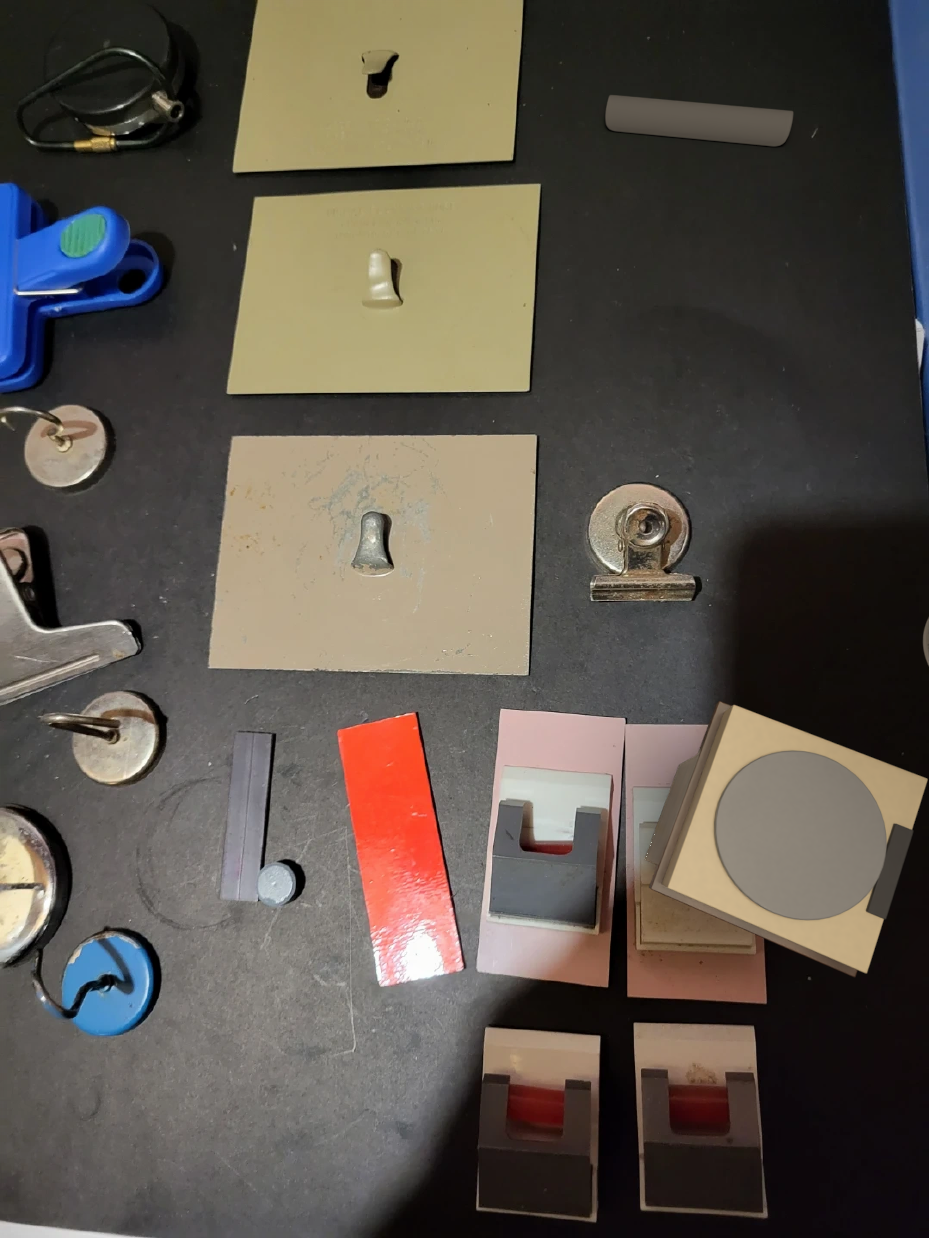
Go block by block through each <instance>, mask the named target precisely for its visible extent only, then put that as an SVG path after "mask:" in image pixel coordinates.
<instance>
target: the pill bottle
mask: <svg viewBox="0 0 929 1238" xmlns="http://www.w3.org/2000/svg"><path fill="white" fill-rule="evenodd" d="M922 647H923V653H924V658H925V660H926V663H927V665H928V666H929V617H928V618H927V619H926V623H925V626H924V628H923V635H922Z"/></svg>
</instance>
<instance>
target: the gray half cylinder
mask: <svg viewBox="0 0 929 1238" xmlns="http://www.w3.org/2000/svg"><path fill="white" fill-rule="evenodd" d="M604 118H605V125H606V127H607V129H609V130H610V131H613V132H619V133H620V132H621V133H629V134H630V133H631V134H640V135H650V136H661V137H670V138H671V137H673V138H683V139H693V140H703V141H715V142H725V143H734V144H744V145H755V146H756V145H757V146H764V147H765V146H767V147H779V146H782V145H784V143H785V142H786V141H787V139H788V137H789V136H790V132H791V129H792V124H793V121H794V111H793V110H786V109H785V110H784V109H775V108H764V107H762V108H761V107H753V106H752V107H750V106H741V105H729V104H718V103H709V102H708V103H707V102H706V103H705V102H695V101H686V100H685V101H683V100H673V99H663V98H662V99H661V98H650V97H639V96H629V95H616V94H609V95H608V99H607V102H606V107H605V117H604Z"/></svg>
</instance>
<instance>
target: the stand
mask: <svg viewBox="0 0 929 1238" xmlns="http://www.w3.org/2000/svg"><path fill="white" fill-rule="evenodd" d="M731 706H733V705H732V704H730V703H726V702H724V701H721V700H719V701H717V702H716V703H715V704H714V707H713V710H712V713H711V716H710V719H709V721H708V725H707V727H706V730H705V732H704V735H703V738H702V741H701V742H700V743H701V744H700V746H699V749H698V751H697V753H696V754H695V755H694V756H692V757H691V758H689V759H687V760H685V761H684V762H683V761H682V763H680V764H679V765H678V766H677V769H676V772H675V773H674V774H675V775H674V777H673V781H672V783H671V786H670V788H669V790H668V794H667V796H666V799H665V802H664V805H663V807H662V810H661V813H660V816H659V818H658V820H657V823H656V826H655V828H654V831H653V834H652V837H651V840H650V843H649V845H648V848H647V851H646V853H645V856H644V860H645V859H646V860H645V861H647V862H650V863H651V864H653V865H656V867H655V869H654V872H653V875H652V878H651V880H650V883H649V886H648V888H649V889H650V890H652V891H653V892H656V893H658V894H660V895H663V896H665V897H667V898H670V899H672V900H674V901H677V902H679V903H682V904H684V905H686V906H687V907H691V908H693V909H695V910H698V911H700V912H703V913H705V914H707V915H709V916H712V917H714V918H716V919H718V920H721V921H723V922H725V923H728V924H729V925H732V926H735V927H736V928H739V929H741V930H744V931H746V932H748V933H751V934H753V935H755V936H757V937H760V938H762V939H764V940H767V941H769V942H771V943H774V944H776V945H777V946H780V947H783V948H785V949H788V950H790V951H792V952H795V953H797V954H799V955H801V956H804V957H806V958H808V959H811V960H813V961H816V962H818V963H820V964H822V965H825V966H827V967H830V968H831V969H834V970H836V971H839V972H841V973H843V974H845V975H848V976H850V977H852V978H856V976H857V973H858V970H857V969H854V968H852V967H850V966H847V965H845V964H843V963H840V962H838V961H836V960H834V959H831V958H829V957H827V956H824V955H822V954H820V953H817V952H815V951H813V950H810V949H808V948H806V947H803V946H801V945H799V944H796V943H794V942H792V941H789V940H787V939H785V938H783V937H780V936H778V935H776V934H773V933H771V932H769V931H766V930H764V929H762V928H759V927H757V926H755V925H752V924H750V923H748V922H745V921H743V920H741V919H738V918H736V917H734V916H732V915H729V914H727V913H725V912H722V911H720V910H718V909H715V908H713V907H711V906H708V905H706V904H704V903H701V902H699V901H697V900H694V899H692V898H690V897H687V896H685V895H683V894H681V893H678V892H676V891H674V890H671V889H669V888H667V887H665V886H664V885H662V882H663V879H664V877H665V874H666V871H667V868H668V866H669V863H670V860H671V857H672V855H673V852H674V849H675V846H676V844H677V841H678V838H679V835H680V833H681V830H682V827H683V824H684V822H685V819H686V816H687V813H688V811H689V808H690V805H691V802H692V799H693V797H694V794H695V791H696V788H697V786H698V783H699V780H700V777H701V775H702V772H703V769H704V766H705V764H706V761H707V758H708V755H709V753H710V750H711V747H712V744H713V742H714V739H715V736H716V733H717V731H718V728H719V725H720V722H721V720H722V717H723V714H724V712H725V711H726V710H727V709H729V708H730V707H731ZM654 834H655V835H654ZM651 842H652V843H651ZM650 845H651V846H650ZM647 853H648V854H647ZM646 856H647V857H646Z"/></svg>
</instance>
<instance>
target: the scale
mask: <svg viewBox="0 0 929 1238" xmlns="http://www.w3.org/2000/svg"><path fill="white" fill-rule="evenodd" d="M927 783H928V778H926V777H924V776H921V775H918V774H916V773H914V772H911V771H908V770H906V769H903V768H901V767H898V766H895V765H893V764H890V763H887V762H885V761H883V760H879V759H877V758H874V757H871V756H869V755H866V754H864V753H861V752H858V751H856V750H854V749H851V748H848V747H846V746H843V745H841V744H837V743H836V742H832V741H830V740H827V739H825V738H822V737H820V736H817V735H815V734H811V733H809V732H807V731H804V730H801V729H798V728H796V727H794V726H791V725H789V724H786V723H783V722H780V721H778V720H775V719H772V718H769V717H767V716H764V715H762V714H759V713H756V712H754V711H752V710H749V709H747V708H745V707H741V706H738V705H736V704H733V705H732V706H731V707H730V708H729V709H727V710H726V711H725V712H724V714H723V717H722V720H721V722H720V725H719V728H718V731H717V733H716V736H715V739H714V742H713V744H712V747H711V750H710V753H709V755H708V758H707V761H706V764H705V766H704V769H703V772H702V775H701V777H700V780H699V783H698V786H697V788H696V791H695V794H694V797H693V799H692V802H691V805H690V808H689V811H688V813H687V816H686V819H685V822H684V824H683V827H682V830H681V833H680V835H679V838H678V841H677V844H676V846H675V849H674V852H673V855H672V857H671V860H670V863H669V866H668V868H667V871H666V874H665V877H664V879H663V882H662V885H664V886H665V887H667V888H669V889H671V890H674V891H676V892H678V893H681V894H683V895H685V896H687V897H690V898H692V899H694V900H697V901H699V902H701V903H704V904H706V905H708V906H711V907H713V908H715V909H718V910H720V911H722V912H725V913H727V914H729V915H732V916H734V917H736V918H738V919H741V920H743V921H745V922H748V923H750V924H752V925H755V926H757V927H759V928H762V929H764V930H766V931H769V932H771V933H773V934H776V935H778V936H780V937H783V938H785V939H787V940H789V941H792V942H794V943H796V944H799V945H801V946H803V947H806V948H808V949H810V950H813V951H815V952H817V953H820V954H822V955H824V956H827V957H829V958H831V959H834V960H836V961H838V962H840V963H843V964H845V965H847V966H850V967H852V968H854V969H857V971H859V972H861V973H864V974H868V972H869V968H870V965H871V962H872V958H873V955H874V952H875V948H876V946H877V944H878V943H877V942H878V939H879V936H880V933H881V930H882V926H883V923H884V920H887V917H888V914H889V911H890V908H891V905H892V902H893V898H894V895H895V892H896V888H897V886H898V883H899V879H900V876H901V873H902V869H903V867H904V864H905V860H906V857H907V854H908V850H909V848H910V844H911V841H912V838H913V834H914V832H915V831H914V830H913V828H914V824H915V821H916V818H917V816H918V813H919V812H918V811H919V809H920V806H921V802H922V800H923V797H924V796H923V795H924V793H925V790H926V787H927Z"/></svg>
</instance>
